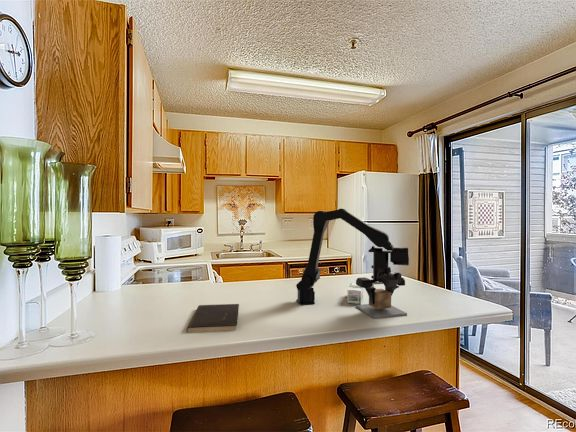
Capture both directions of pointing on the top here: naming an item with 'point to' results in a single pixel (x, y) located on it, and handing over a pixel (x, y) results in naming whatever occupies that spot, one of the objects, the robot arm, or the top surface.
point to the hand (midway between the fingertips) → (380, 303)
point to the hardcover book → (214, 318)
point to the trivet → (381, 311)
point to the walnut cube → (381, 299)
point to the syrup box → (355, 294)
